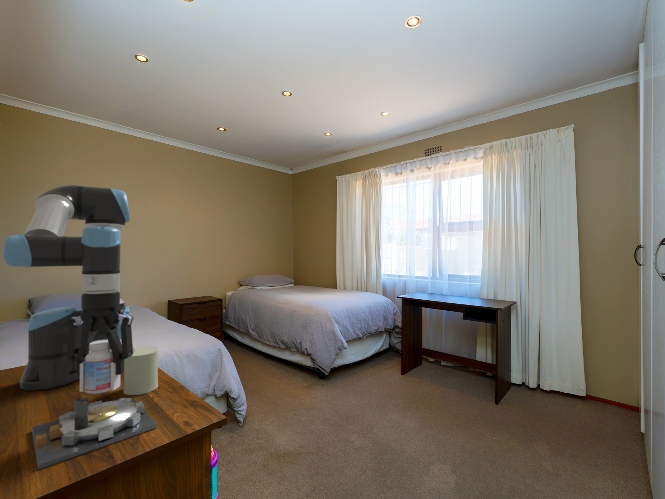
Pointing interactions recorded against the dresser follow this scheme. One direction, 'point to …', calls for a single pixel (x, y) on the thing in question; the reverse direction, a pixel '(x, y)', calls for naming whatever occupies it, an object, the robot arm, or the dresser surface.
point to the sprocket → (96, 420)
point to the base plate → (56, 452)
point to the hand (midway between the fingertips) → (100, 388)
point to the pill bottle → (98, 367)
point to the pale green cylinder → (141, 371)
